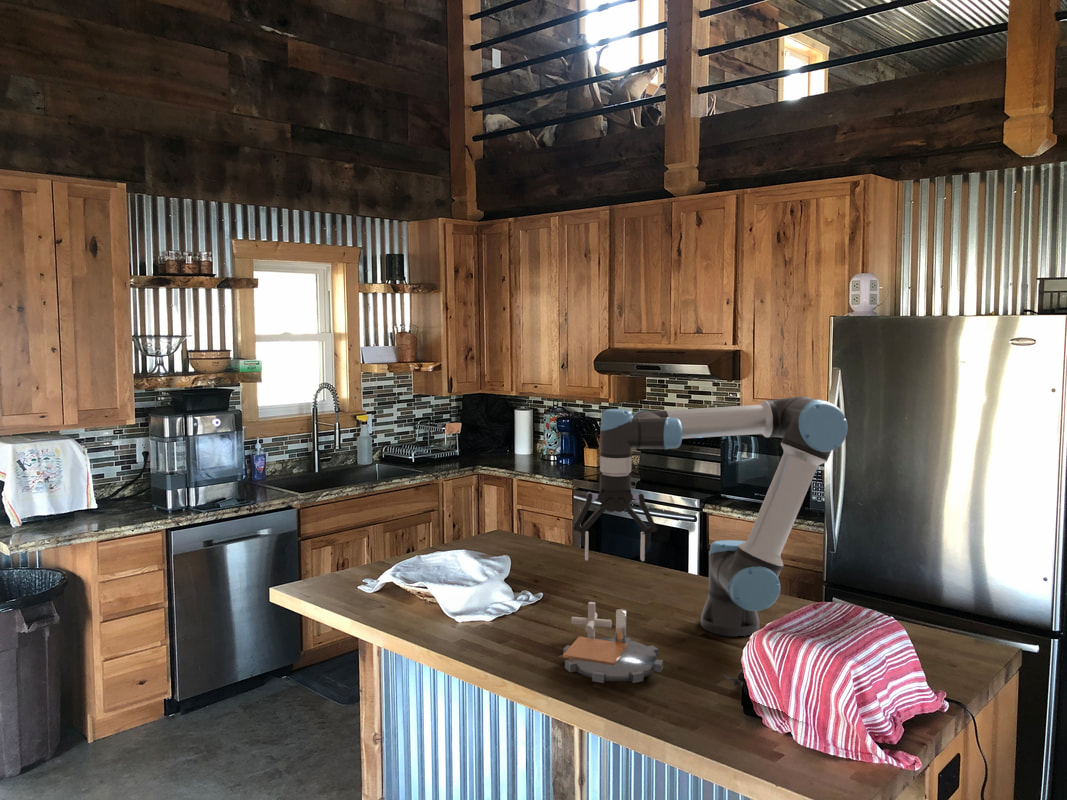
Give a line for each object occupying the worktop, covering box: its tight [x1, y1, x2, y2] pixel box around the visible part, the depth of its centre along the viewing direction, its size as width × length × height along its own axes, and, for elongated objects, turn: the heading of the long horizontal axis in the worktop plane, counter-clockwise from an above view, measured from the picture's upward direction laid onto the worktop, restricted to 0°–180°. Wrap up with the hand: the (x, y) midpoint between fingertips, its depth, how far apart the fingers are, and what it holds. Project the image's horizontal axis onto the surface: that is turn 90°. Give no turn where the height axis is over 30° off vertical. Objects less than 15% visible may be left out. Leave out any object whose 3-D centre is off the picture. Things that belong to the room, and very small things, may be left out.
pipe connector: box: [570, 601, 613, 638], centre depth 214 cm, size 10×10×10 cm
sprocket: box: [562, 608, 664, 684], centre depth 196 cm, size 23×23×10 cm
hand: (614, 559), depth 208 cm, fingers open, 13 cm apart
